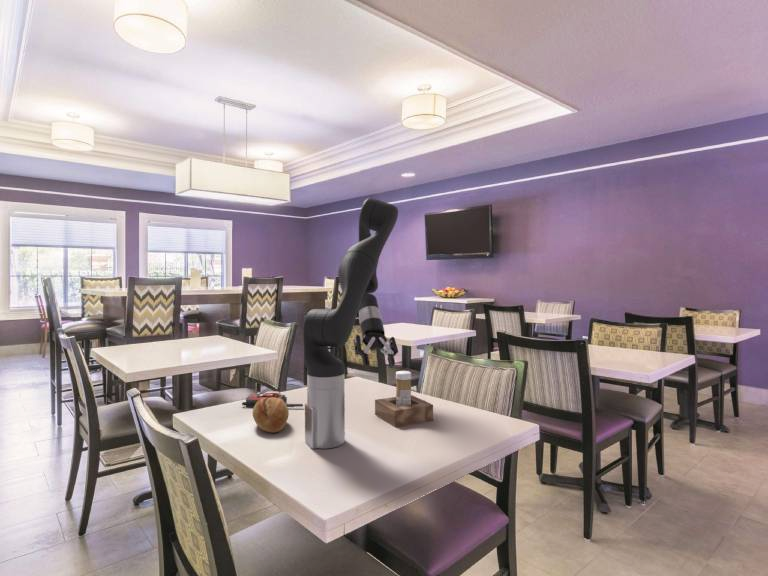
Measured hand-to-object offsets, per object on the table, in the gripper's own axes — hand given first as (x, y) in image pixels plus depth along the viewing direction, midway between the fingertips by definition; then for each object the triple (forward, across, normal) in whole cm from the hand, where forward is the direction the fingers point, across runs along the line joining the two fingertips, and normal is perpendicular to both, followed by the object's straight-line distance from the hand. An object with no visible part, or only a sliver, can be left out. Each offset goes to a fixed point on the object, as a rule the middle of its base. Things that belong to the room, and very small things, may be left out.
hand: (379, 366), depth 140 cm
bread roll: (+15, -33, +8) cm, 37 cm away
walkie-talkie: (+2, -28, +25) cm, 37 cm away
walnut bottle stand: (+17, +4, -1) cm, 18 cm away
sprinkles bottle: (+17, +4, -1) cm, 18 cm away
